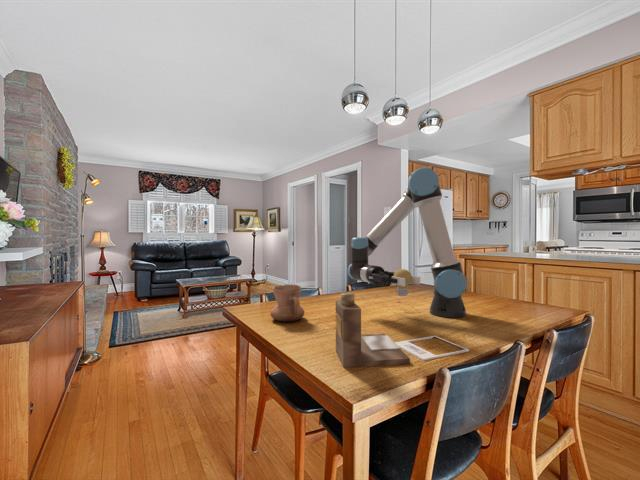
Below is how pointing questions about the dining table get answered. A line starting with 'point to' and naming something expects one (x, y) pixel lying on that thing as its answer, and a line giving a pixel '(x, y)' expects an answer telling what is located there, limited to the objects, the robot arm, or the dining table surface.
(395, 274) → the light bulb
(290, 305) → the ceramic jug
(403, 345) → the photo frame
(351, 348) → the brown l-shaped block
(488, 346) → the dining table surface
